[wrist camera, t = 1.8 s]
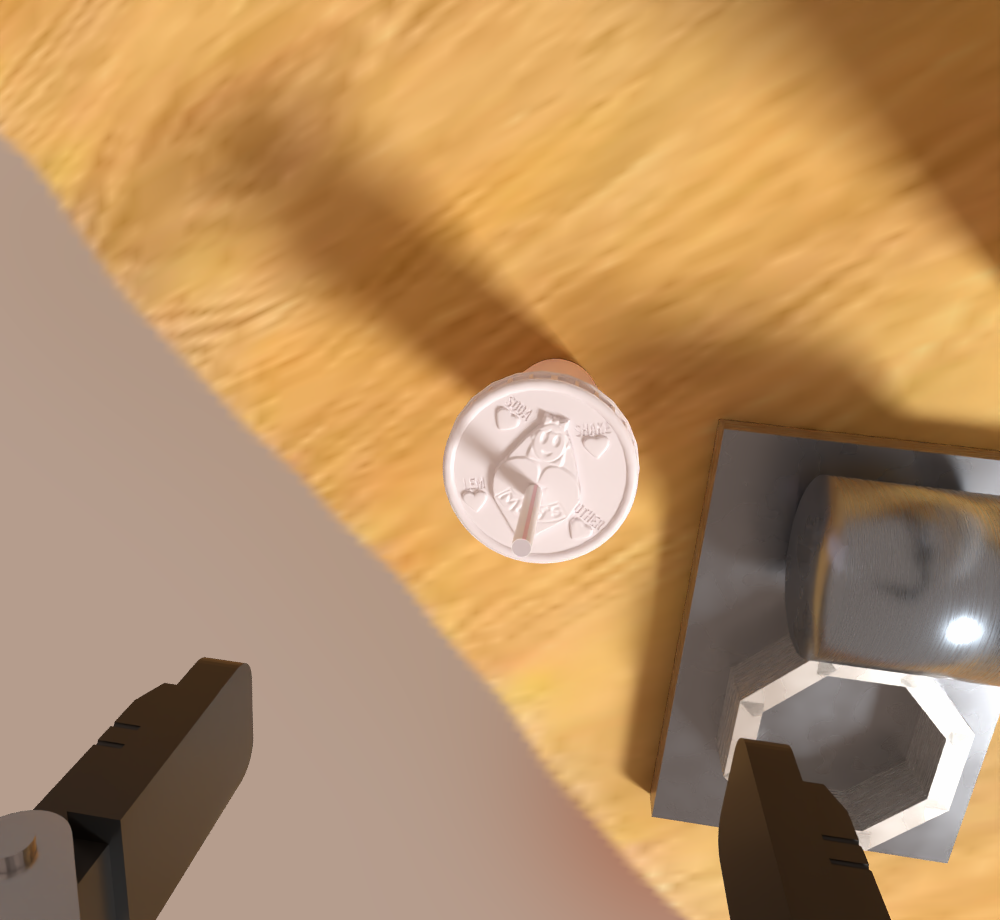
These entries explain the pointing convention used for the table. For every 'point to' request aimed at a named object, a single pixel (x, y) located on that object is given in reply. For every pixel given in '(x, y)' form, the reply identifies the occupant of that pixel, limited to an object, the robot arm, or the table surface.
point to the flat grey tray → (841, 629)
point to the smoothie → (541, 464)
